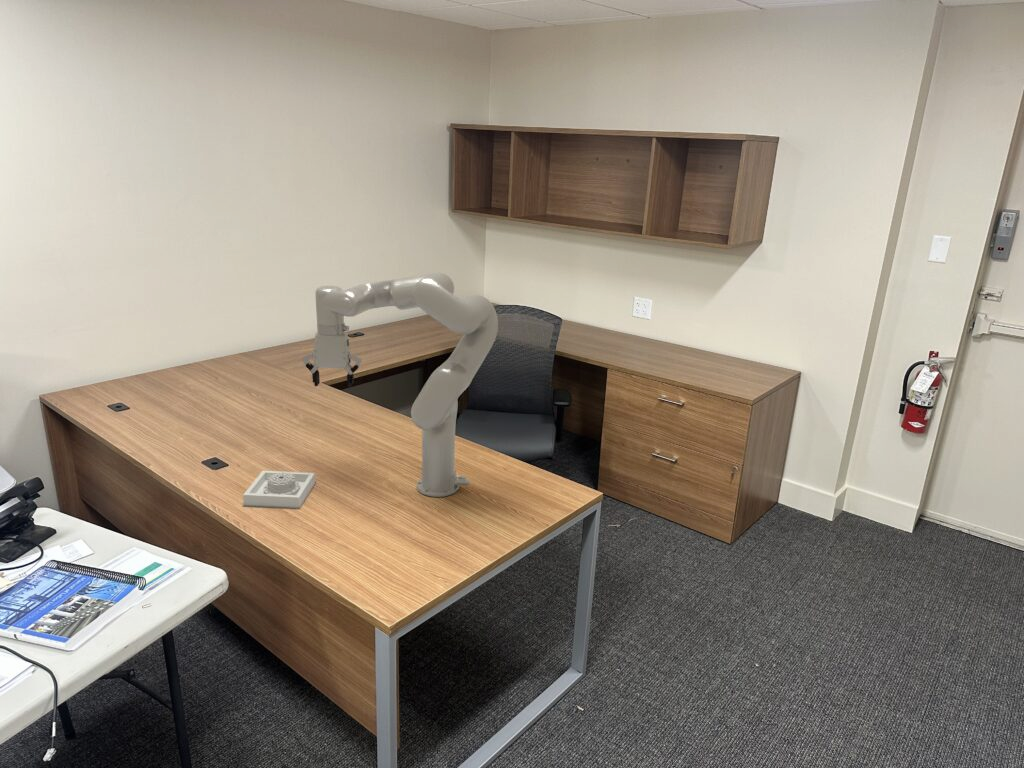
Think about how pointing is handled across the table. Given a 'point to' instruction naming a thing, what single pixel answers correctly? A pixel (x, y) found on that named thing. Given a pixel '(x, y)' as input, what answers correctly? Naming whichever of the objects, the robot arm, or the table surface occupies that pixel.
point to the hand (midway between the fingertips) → (333, 385)
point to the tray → (258, 498)
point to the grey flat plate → (274, 507)
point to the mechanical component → (282, 484)
